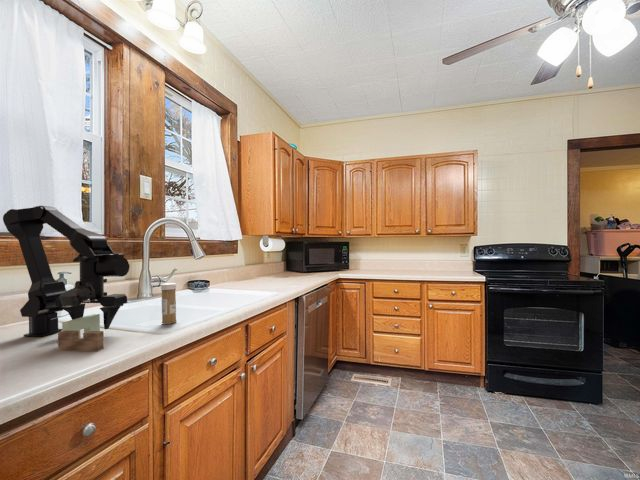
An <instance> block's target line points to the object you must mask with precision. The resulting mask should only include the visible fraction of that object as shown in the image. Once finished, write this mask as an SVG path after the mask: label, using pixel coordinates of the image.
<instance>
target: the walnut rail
mask: <svg viewBox="0 0 640 480" xmlns="http://www.w3.org/2000/svg"><path fill="white" fill-rule="evenodd" d="M104 337H105V336H104V330H100V331H88V332H85V333H84V332H83V333H82V338H81V337H80V338H79V331H66V330H65V331H59V332H57V351H71V352H72V351H75V352H76V351H77V352H79V351H80V352H99V351H101V350H103V349H104V347H105V346H104V345H105V343H104V340H105V339H104Z"/></svg>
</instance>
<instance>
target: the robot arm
mask: <svg viewBox="0 0 640 480" xmlns="http://www.w3.org/2000/svg"><path fill="white" fill-rule="evenodd" d="M2 220H3V221H2V222H3V224H4V226H5V228H6V229H7V232H9V234H11V235H12V236H14V237H15V238H16V239H17V241H18V242H19V246H20V250H21V253H22V255H23V259H24V262H25V266H26V268H27V271H28V275H29V277H30V282H31V284H30V287H29V290H28V292H27V296H28V300H27V301H26V302H25V304H24V305H23V306H22V307H21V308H20V309H19V312H20V315H21V317H22V318H28V333H24V334H23V337H36V338H40V337H42V338H43V337H45V336H48V335H52V334H56V333H59V332H62V328H59V317H58V312H62V311H66V312H67V313H68V315H69V316H70V318H71V319H70V320H74V319H77V318H81V317H84V316H85V315H84V314H85V313H84V312H85V309H86V308H85V307H86V304H100V306H102V307H99V310H101V312H102V313H103V316H102V317H103V327H104V330H108V329H109V328H110V326H111V325H112V323H113V320H114V319H115V317H116V315H117V313H118V312H119V310H120V308H121V307H123V306H124V305H125V304H127V303H128V296H127V295H126V294H125V293H113V294H109V295H108V292H107V291H104V290H105V289H104V288H105V287H104V286H105V283H108V279H107V278H104V277H109V278H110V277H111V278H112V277H115V278H117V277H121V278H122V277H125V276H127V274H128V273H129V271H130V265H131V264H130V263H129V261H128V259H127V258H126V257H125V254H124V253H116V252H115V251H114V250H113V249H112V247H111V245H109V243H108V240H107V238H106V237H105V236H103V235H101V234H99V233H97V232H95V231H92V230H88V229H86V228H83V227H82V226H81V225H80V224H78V223H77V222H75V221H73V220H72V219H71V218H69V217H67V216H66V215H65V214H63V213H62V212H61V211H59V209H58V208H56V207H54V206H49V205H48V206H46V205H37V206H33V207H28V208H20V209H19V208H18V209H15V208H14V209H13V208H11V209H9V210H7V211H6V212H5V213H4V214H3V216H2ZM44 224H46V225H48V226H50V227H51V228H52V229H54V230H55V231H56V232H57V233H60V234H61V235H62V236H63V237H65V238H66V239H67V240H68V241H69V245H70V247H71V248H72V249H73V250H75V252H77V254H78V255H77V256H75V258H74V259H73V260H72V262H73V263H79V280H77V281H75V283H74V287H73V288H71V289H69V290H67V289H66V285H65V282H64V281H62V280H61V281H58V280H56V279H55V278H54V276H53V274H52V270H51V266H50V265H49V261H48V257H47V254H46V251H45V247H44V246H43V242H42V238H41V234H42V232H43V229H44Z"/></svg>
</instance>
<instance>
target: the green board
mask: <svg viewBox="0 0 640 480" xmlns="http://www.w3.org/2000/svg"><path fill="white" fill-rule="evenodd" d="M100 317H101V315H100V313H93V314H89V315H84V316H83V317H81V318H77V319H74V320H72V319H70V320H66V321H64V322H61V325H62V328H61V329H62V331H65V330H66V331H79V338H81V330H83V333H85V332H88V331H101V322H100V321H101V318H100ZM62 331H61V332H62Z"/></svg>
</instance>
